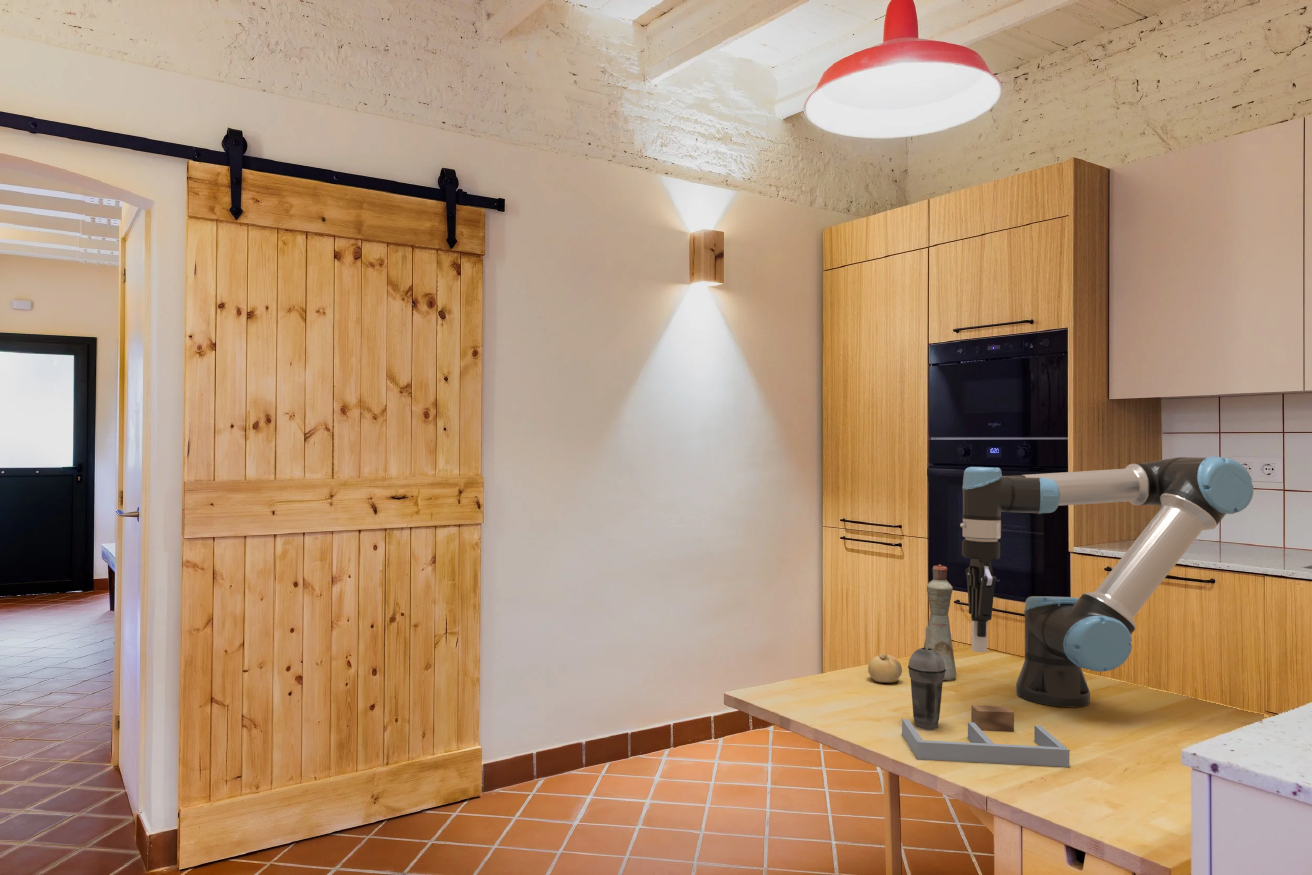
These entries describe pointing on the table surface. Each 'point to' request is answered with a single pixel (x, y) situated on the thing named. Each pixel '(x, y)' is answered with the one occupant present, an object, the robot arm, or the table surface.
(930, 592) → the bottle
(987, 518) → the robot arm
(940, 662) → the beverage cup
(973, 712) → the walnut bar
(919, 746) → the slot rack
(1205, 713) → the table surface
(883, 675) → the onion
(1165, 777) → the table surface
